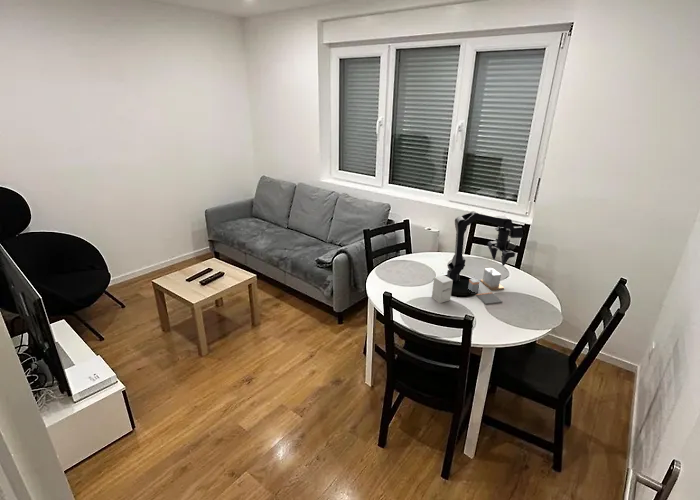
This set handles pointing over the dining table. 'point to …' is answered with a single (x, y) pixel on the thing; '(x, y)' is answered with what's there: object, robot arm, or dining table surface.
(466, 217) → the robot arm
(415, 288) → the dining table surface
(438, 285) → the supplement box
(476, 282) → the cartridge
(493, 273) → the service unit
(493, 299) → the pad
